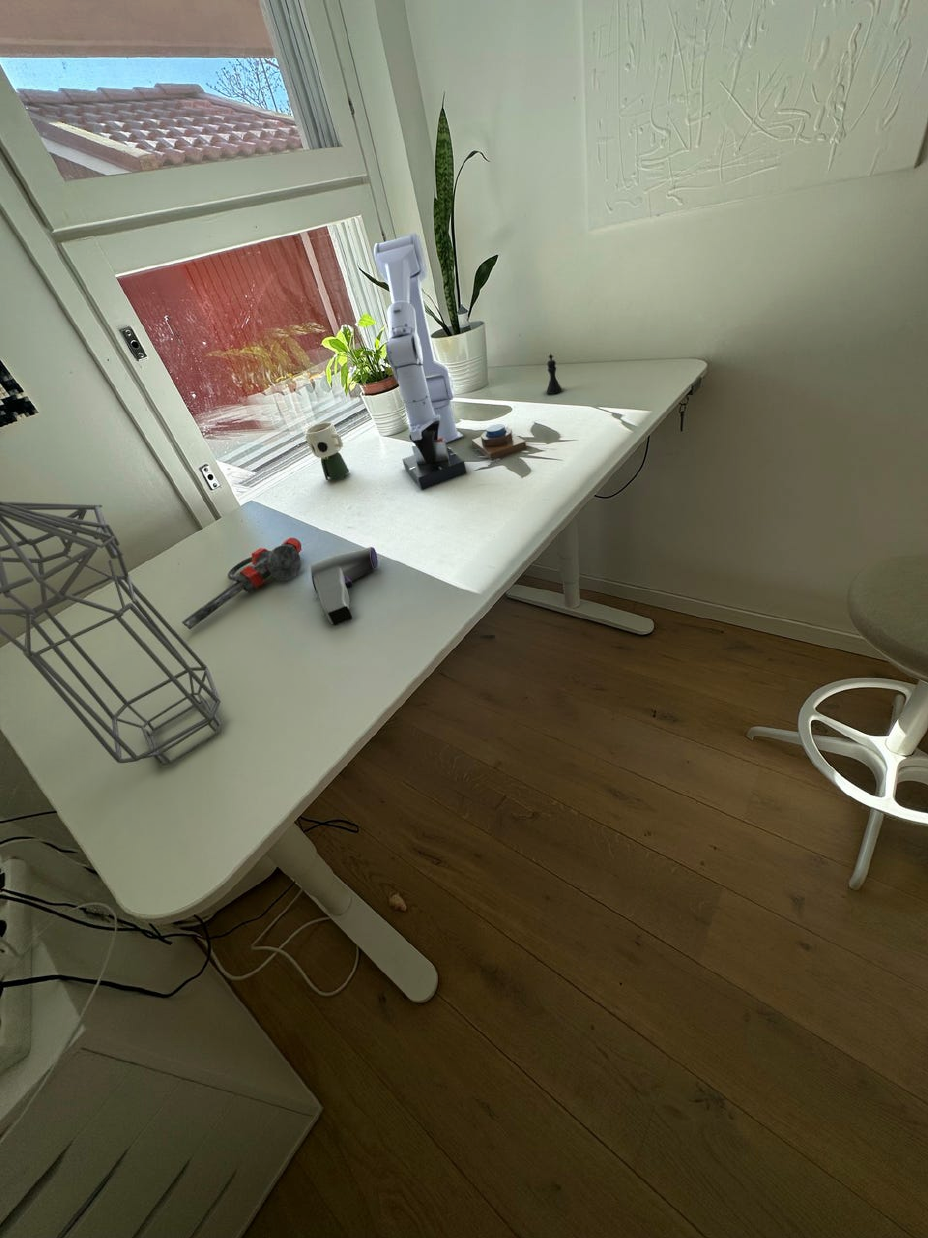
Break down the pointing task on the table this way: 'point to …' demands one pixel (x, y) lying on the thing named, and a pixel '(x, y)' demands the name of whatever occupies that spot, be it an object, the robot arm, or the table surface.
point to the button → (495, 430)
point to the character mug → (327, 449)
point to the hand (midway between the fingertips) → (432, 458)
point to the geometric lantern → (43, 522)
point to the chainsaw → (255, 575)
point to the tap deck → (434, 470)
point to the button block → (498, 444)
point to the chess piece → (553, 378)
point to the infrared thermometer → (340, 580)
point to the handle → (440, 452)
